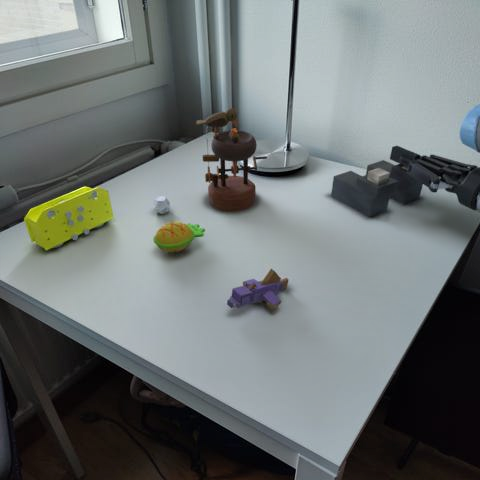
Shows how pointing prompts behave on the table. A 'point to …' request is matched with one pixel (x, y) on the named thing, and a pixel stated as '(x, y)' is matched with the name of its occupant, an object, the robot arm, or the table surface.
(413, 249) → the table surface
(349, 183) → the high key block
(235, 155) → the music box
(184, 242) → the toy pineapple
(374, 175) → the high key
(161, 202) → the game die
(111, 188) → the table surface
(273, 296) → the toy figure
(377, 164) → the low key block
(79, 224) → the yellow toy chassis
